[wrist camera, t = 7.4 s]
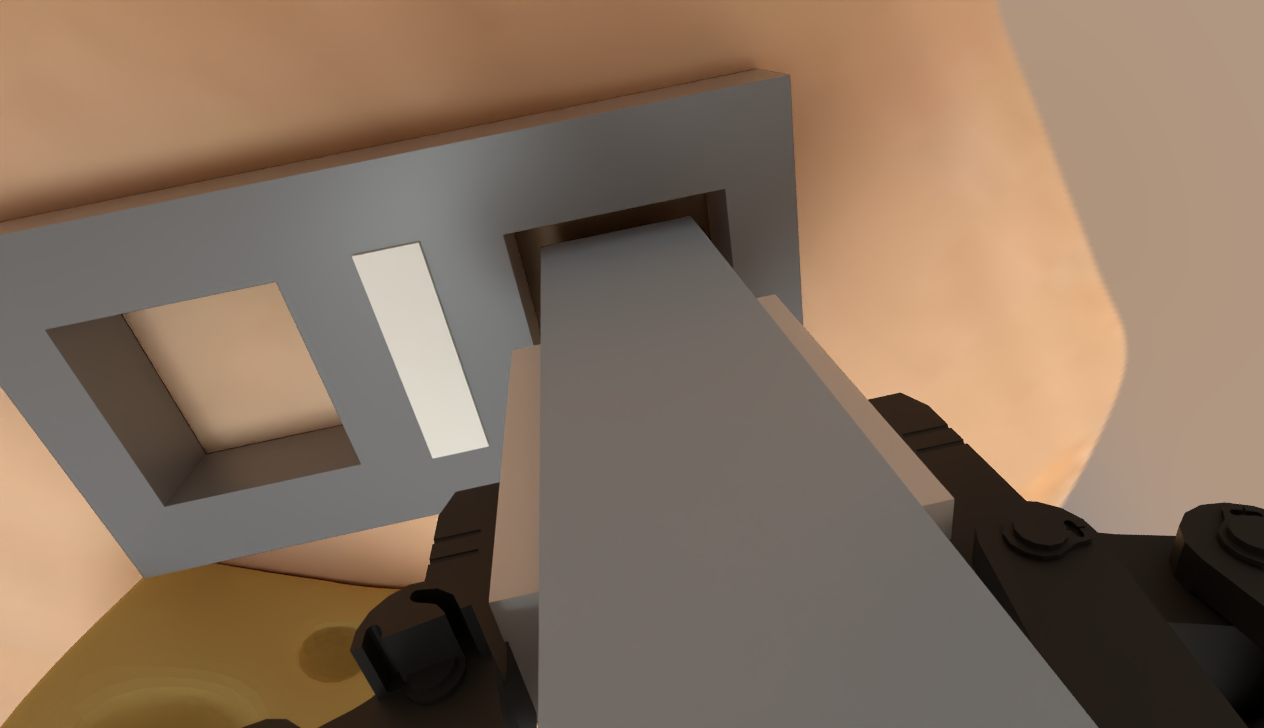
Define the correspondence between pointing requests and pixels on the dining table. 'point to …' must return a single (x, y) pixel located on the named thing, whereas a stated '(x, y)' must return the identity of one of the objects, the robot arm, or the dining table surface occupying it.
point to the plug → (738, 525)
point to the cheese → (211, 655)
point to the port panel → (361, 306)
